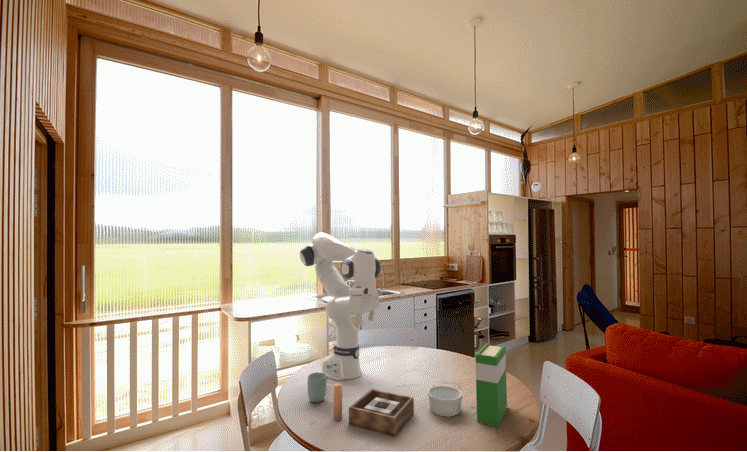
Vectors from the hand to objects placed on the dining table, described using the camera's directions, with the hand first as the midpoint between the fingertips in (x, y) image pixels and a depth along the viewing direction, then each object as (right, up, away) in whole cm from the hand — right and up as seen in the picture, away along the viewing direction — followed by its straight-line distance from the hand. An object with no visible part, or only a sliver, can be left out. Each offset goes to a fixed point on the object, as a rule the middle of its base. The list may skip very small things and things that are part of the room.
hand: (365, 322), depth 139 cm
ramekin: (+31, -32, -7) cm, 45 cm away
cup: (-20, -33, +2) cm, 39 cm away
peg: (-10, -32, -13) cm, 36 cm away
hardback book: (+48, -32, -10) cm, 59 cm away
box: (+6, -32, -14) cm, 35 cm away
